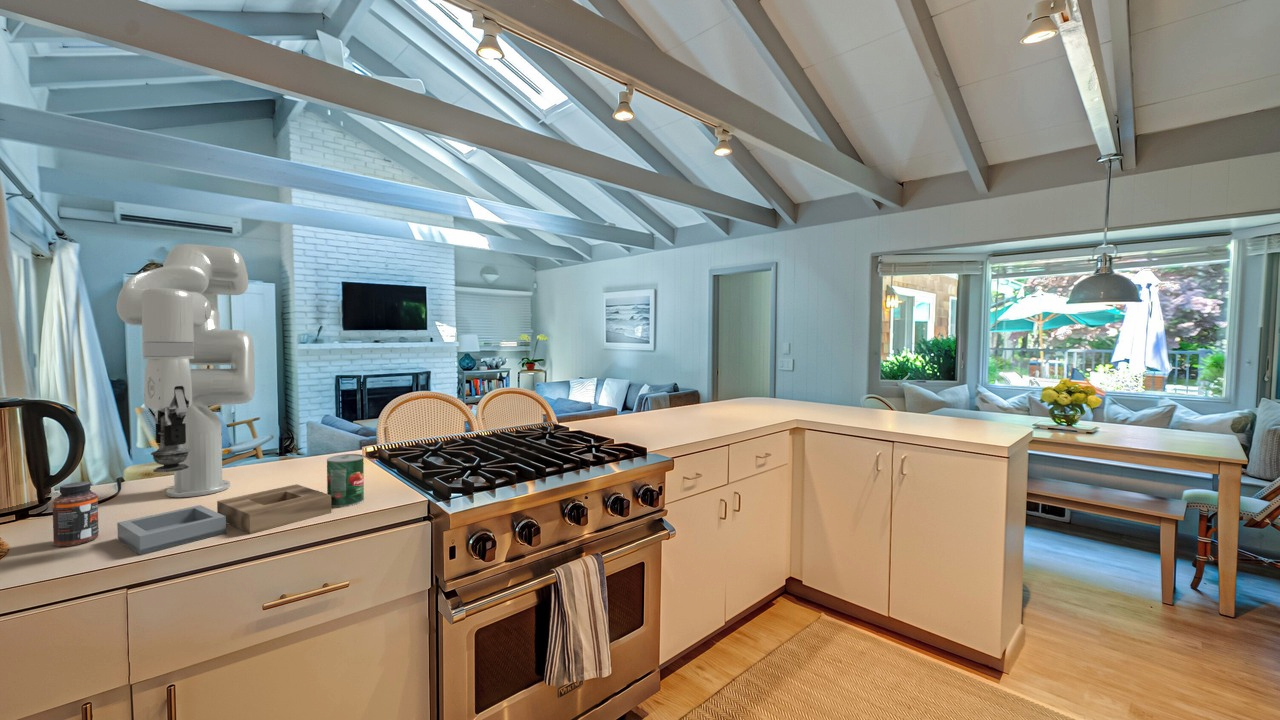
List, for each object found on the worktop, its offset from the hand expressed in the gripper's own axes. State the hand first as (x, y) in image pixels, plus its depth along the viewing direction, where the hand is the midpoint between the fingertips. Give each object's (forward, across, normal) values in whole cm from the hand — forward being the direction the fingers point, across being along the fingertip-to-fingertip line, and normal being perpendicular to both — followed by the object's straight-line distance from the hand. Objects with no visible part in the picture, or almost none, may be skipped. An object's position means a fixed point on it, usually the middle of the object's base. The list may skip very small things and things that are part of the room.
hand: (170, 442), depth 103 cm
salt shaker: (+5, 0, 0) cm, 5 cm away
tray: (+19, 0, 0) cm, 19 cm away
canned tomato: (+19, +6, +31) cm, 37 cm away
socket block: (+19, +3, +17) cm, 26 cm away
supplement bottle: (+19, -12, -11) cm, 25 cm away
